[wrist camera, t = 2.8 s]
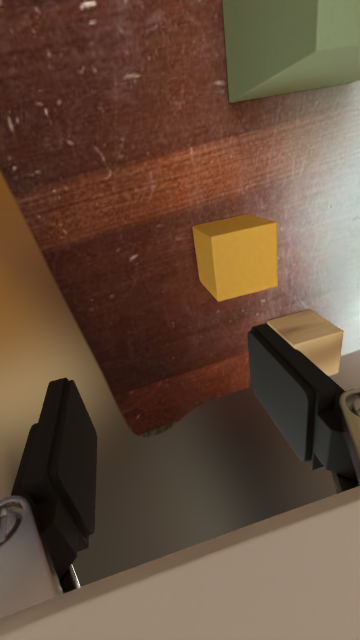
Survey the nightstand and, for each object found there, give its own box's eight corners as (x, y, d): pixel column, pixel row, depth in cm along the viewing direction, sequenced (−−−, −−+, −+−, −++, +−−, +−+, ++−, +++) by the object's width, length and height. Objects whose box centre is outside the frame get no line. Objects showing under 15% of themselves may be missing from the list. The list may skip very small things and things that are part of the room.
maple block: (308, 347, 33) (338, 373, 29) (267, 359, 33) (292, 387, 28) (310, 308, 31) (343, 330, 27) (266, 320, 30) (294, 344, 26)
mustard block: (250, 269, 27) (277, 286, 23) (199, 281, 27) (218, 302, 22) (247, 213, 25) (277, 221, 21) (191, 226, 24) (210, 236, 20)
